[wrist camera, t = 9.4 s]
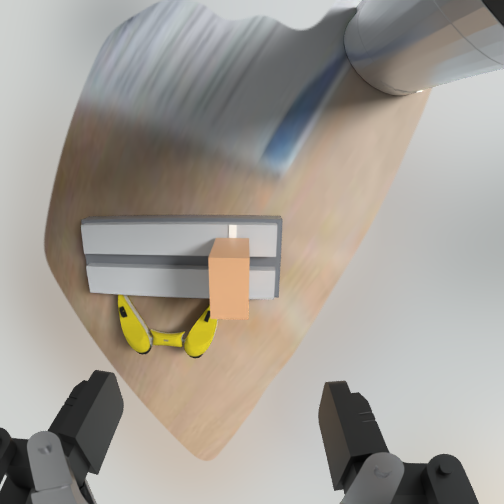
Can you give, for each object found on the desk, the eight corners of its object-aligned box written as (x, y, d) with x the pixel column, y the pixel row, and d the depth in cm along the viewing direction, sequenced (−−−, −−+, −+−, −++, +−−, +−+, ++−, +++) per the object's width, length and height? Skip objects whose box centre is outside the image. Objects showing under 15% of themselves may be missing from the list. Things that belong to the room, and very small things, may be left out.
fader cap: (218, 284, 27) (210, 318, 21) (217, 234, 25) (208, 257, 19) (248, 284, 27) (248, 319, 21) (249, 234, 25) (249, 258, 20)
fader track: (97, 284, 28) (86, 295, 26) (88, 216, 26) (75, 222, 24) (277, 290, 29) (279, 302, 26) (280, 216, 27) (283, 222, 24)
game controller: (129, 348, 30) (116, 355, 26) (127, 288, 30) (114, 289, 27) (221, 353, 30) (218, 362, 26) (221, 291, 30) (218, 293, 27)
